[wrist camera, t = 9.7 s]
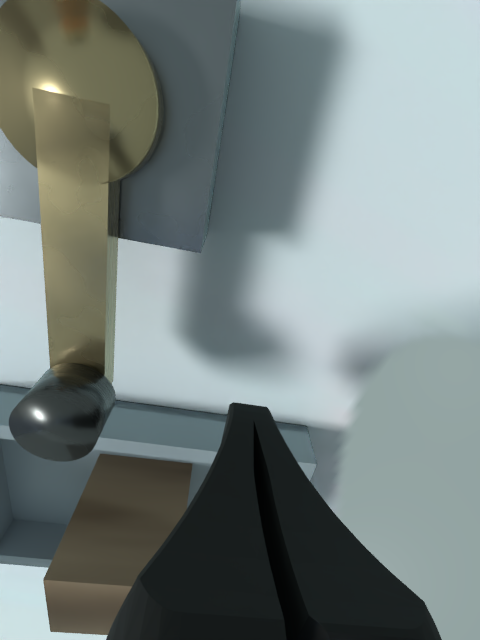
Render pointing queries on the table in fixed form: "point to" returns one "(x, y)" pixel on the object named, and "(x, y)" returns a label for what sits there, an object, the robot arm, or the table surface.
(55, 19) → the crank
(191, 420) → the tray
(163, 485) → the block
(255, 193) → the table surface
